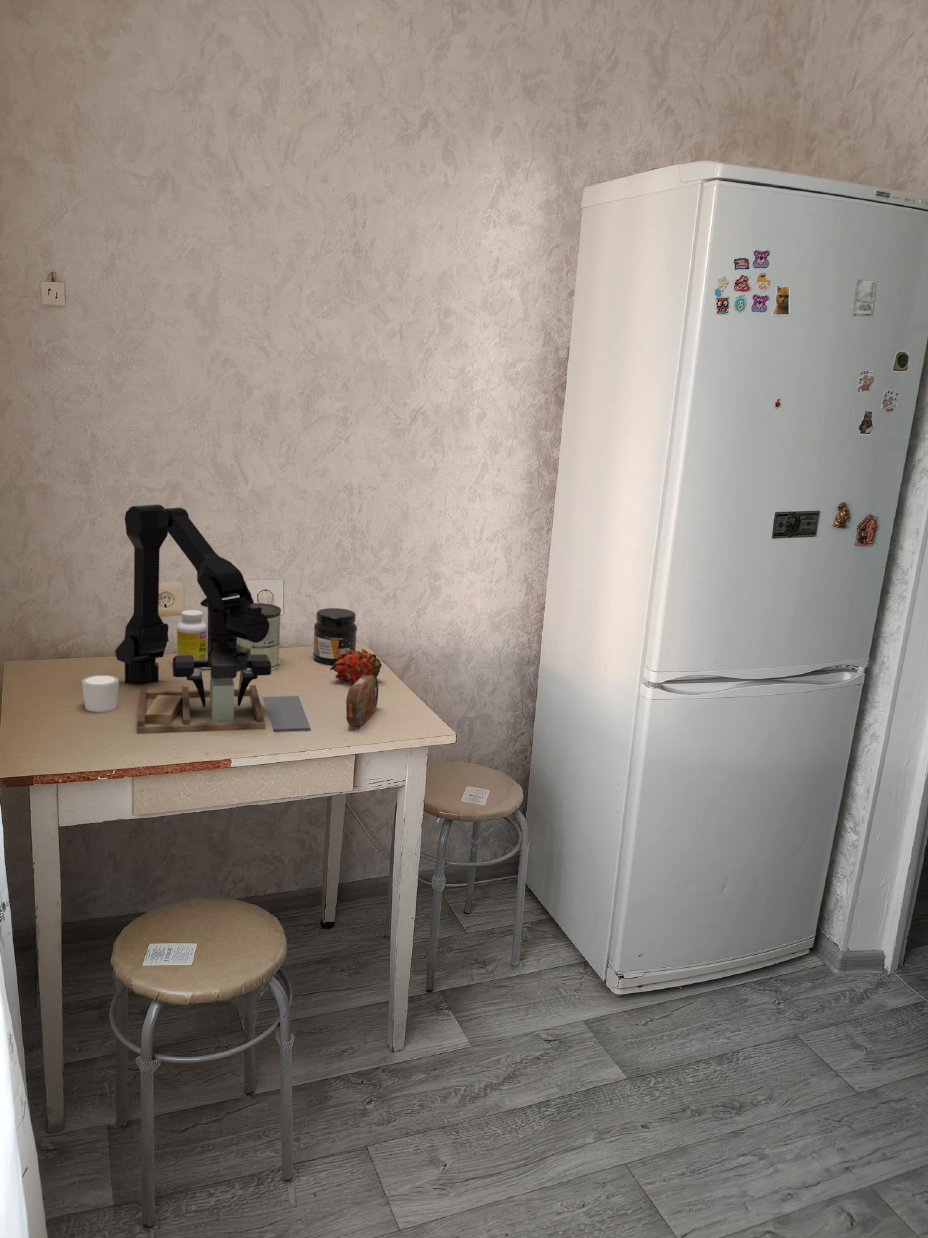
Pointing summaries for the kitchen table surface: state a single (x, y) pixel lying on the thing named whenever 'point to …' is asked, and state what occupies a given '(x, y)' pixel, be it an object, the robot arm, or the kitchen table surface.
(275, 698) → the mat
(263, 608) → the coffee can
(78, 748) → the kitchen table surface
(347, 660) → the dragon fruit
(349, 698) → the tin
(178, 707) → the offcut short
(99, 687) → the white cup
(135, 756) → the kitchen table surface
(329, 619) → the supplement container
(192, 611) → the supplement bottle
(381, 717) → the kitchen table surface
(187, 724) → the rack
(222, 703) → the pale green block
